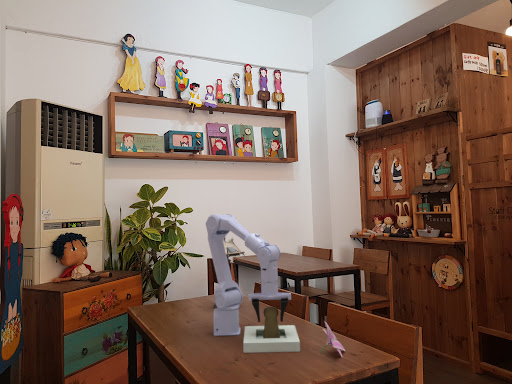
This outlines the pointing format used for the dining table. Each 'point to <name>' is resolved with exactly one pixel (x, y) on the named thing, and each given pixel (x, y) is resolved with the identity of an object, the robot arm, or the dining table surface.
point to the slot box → (271, 340)
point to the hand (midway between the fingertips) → (270, 321)
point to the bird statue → (230, 253)
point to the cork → (271, 323)
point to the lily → (332, 340)
